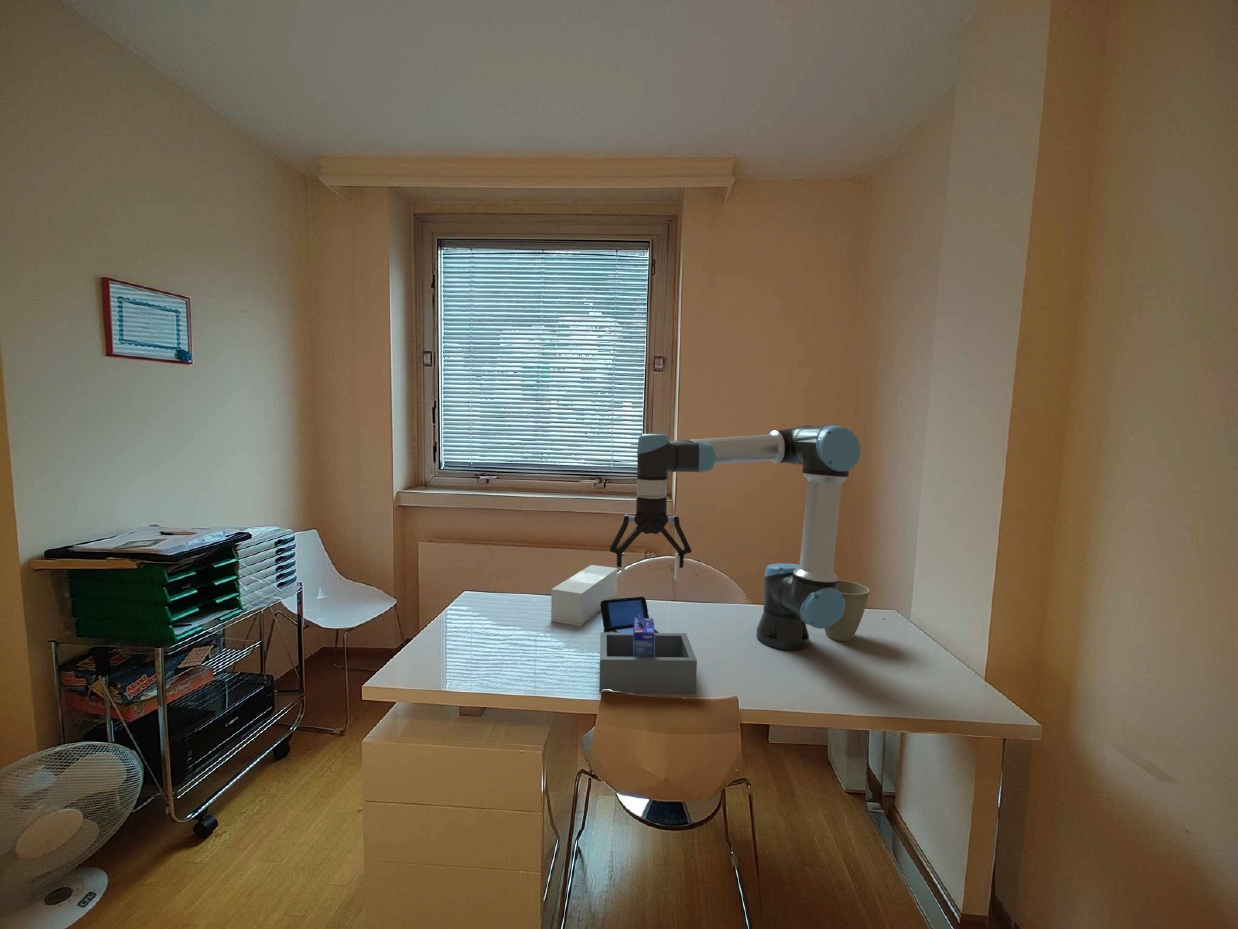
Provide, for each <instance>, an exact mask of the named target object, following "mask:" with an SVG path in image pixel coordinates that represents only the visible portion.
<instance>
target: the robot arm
mask: <svg viewBox="0 0 1238 929" xmlns="http://www.w3.org/2000/svg"><path fill="white" fill-rule="evenodd" d="M637 441H638V442H637V451H636V454H637V455H636V456H637V457H636V458H637V460H636V462H637V468H636V471H637V473H636V477H637V478H636V495H637V497H636V500H635V501H636V503H635V504H636V507H635V511H636V512H635V515H628V514H627V513H626V514H624V515H623V516H622V517H623V518H622V523H621V525H620V527H619V529H618V531H617V533H616V535H615V536H614V539H613V541H612V542H611V544H610V546H609V552H611V553H613V554H616V568H620V580H621V581H620V582H625V566H626V565H625V564H626V556H625V555H626V554H625V551H626V550H627V549H628V547H629V546H631V544H632V543H633V542H634V541H635V540H636V538H638V536H640V534H642V533H643V534H645V535H648V534H653V535H658V534H660V533H661V534H662V535H663V536H664V537H665V539H666V540H667V541H668V543H670V545H671V546H672V547H673V548H674V550H675V551H676V553H674V572H673V573H674V575H673V576H674V577H673V578H674V582H677V583H679V582H680V568H681V569H682V568H684V564H685V563H684V561H685V560H684V559H685V557H684V556H685V555H687V554H691V553H692V549H691V546H690V544H689V543H688V540H687V538H686V536H685V534H684V532H683V529H682V527H681V524H680V518H679V516H678V515H677V514H674V515H672V516H671V515H670V516H668V515H667V514H668V513H667V507H668V506H667V505H668V504H667V501H668V500H667V499H668V498H667V497H666V496H667V495H668V473H698V474H700V473H709V472H710V471H712V470H713V468H714V466H715V465H727V464H728V465H729V464H741V463H754V462H767V461H768V462H770V461H771V462H772V463H773V464H791V465H799V466H802V472H801V473H802V475H803V477H804V478H805V479H806V480H807V481H806V482H807V484H806V490H805V491H806V494H805V504H804V512H803V513H804V514H803V524H802V525H803V526H802V536H801V546H800V548H801V549H800V556H799V564H798V563H797V564H796V563H770V564H768V565H767V566H766V568H765V573H764V576H763V577H764V591H763V592H764V593H763V594H764V595H763V611H762V615H761V617H760V620H759V622H758V624H757V628H756V639H757V640H758V641H759V642H760V643H762V644H764V645H765V646H768V647H771V648H774V649H779V650H785V651H799V650H803V649H806V648H807V647H809V644H810V635H809V631H808V628H807V625H809V626H810V627H813V628H815V629H820V630H821V629H824V628H828V627H830V626H832V625H834V624H835V623H836V622H837V621H839V620H840V618H841V617H842V615H843V613H844V610H845V599H844V597H843V596H842V594H841V592H840V591H838V590H837V588H838V580H839V576H837V575H836V573H835V572H834V566H835V565H834V564H835V553H836V543H837V534H838V532H837V531H838V522H839V512H840V503H841V502H840V501H841V490H842V484H843V482H845V481H846V480H847V479H849V475H850V474H849V473H850V470H851V469H853V468H854V467H855V466H856V464H857V463H858V462H859V460H860V457H861V451H862V450H861V444H860V442H859V439H858V437H857V435H855V433H854V432H853V431H852V430H851V429H849V428H847V427H845V426H840V425H835V424H830V425H829V424H828V425H803V426H797V427H791V428H785V429H777V430H771V432H769V433H768V434H758V435H757V434H755V435H754V434H753V435H740V436H739V435H738V436H725V437H723V436H722V437H713V438H712V437H711V438H710V437H709V438H697V439H694V438H693V439H683V440H681V439H680V440H673V439H669V435H667V434H666V433H665V434H664V433H659V434H658V433H641V435H639V437H638V439H637ZM633 522H634V523H635V524H636V526H635V528H634V529H633V531H632V532H631V533H630V534H629V535H628V536H627V537H626V538H625V539H624V540H623V542H621V540H622V538H623V536H624V534H625V532H626V531H627V528H628V526H629V525H631V524H632V523H633ZM669 522H670V524H671V525H673V526H674V528H675V531H676V533H677V535H678V538H679V540H680V542H681V544H682V545H683V547H682V548H681V546H680V545H679V543H677V541H676V540H675V539H674V538H673V536H671V534H670V533H669V532H668V530H667V529H666V528H665V526H666V525H667V524H668V523H669ZM620 542H621V544H620ZM619 544H620V545H619ZM618 545H619V547H618Z"/></svg>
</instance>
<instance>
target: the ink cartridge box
mask: <svg viewBox="0 0 1238 929" xmlns="http://www.w3.org/2000/svg"><path fill="white" fill-rule="evenodd" d="M654 629H655V630H656V628H655V623H654V618H653V617H649V618H641V616H640V615H639V613H638V618H634V628H633V657H655V631H654Z"/></svg>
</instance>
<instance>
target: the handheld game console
mask: <svg viewBox="0 0 1238 929" xmlns="http://www.w3.org/2000/svg"><path fill="white" fill-rule="evenodd" d="M600 606H601V611H600V612H601V619H602V625H603V632H617V633H633V628H634V618H638V613H639V615H640V616H641V618H650V615H649V609H648V603H647V599H646V598H645V597H644V596H635V597H623V598H614V599H612V600H603V601H602V602H601V604H600ZM654 631H655V633H660V632H659V631H657V629H656V628H655V629H654Z"/></svg>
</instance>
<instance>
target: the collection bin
mask: <svg viewBox="0 0 1238 929" xmlns="http://www.w3.org/2000/svg"><path fill="white" fill-rule="evenodd" d="M599 638H600V644H599V646H600V648H599V683H598V684H599V686H598V688H599V689H598V691H599V693H602V692H601V691H602V690H603V689H611V690H613V691H620V692H619V693H637V694H638V693H640V694H641V693H643V694H644V693H647V694H648V693H651V694H652V693H654V694H655V693H659V694H661V693H662V694H664V693H665V694H696V693H697V672H698V671H697V669H698V667H697V665H698V659H697V658H696V655H695V652H694V650H693V648H692V644H691V642H690V640H689V637H688V635H687V633H683V632H679V633H678V632H676V633H675V632H674V633H673V632H659V633H655V657H633V633H617V632H604V631H602V632H600V637H599Z"/></svg>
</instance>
